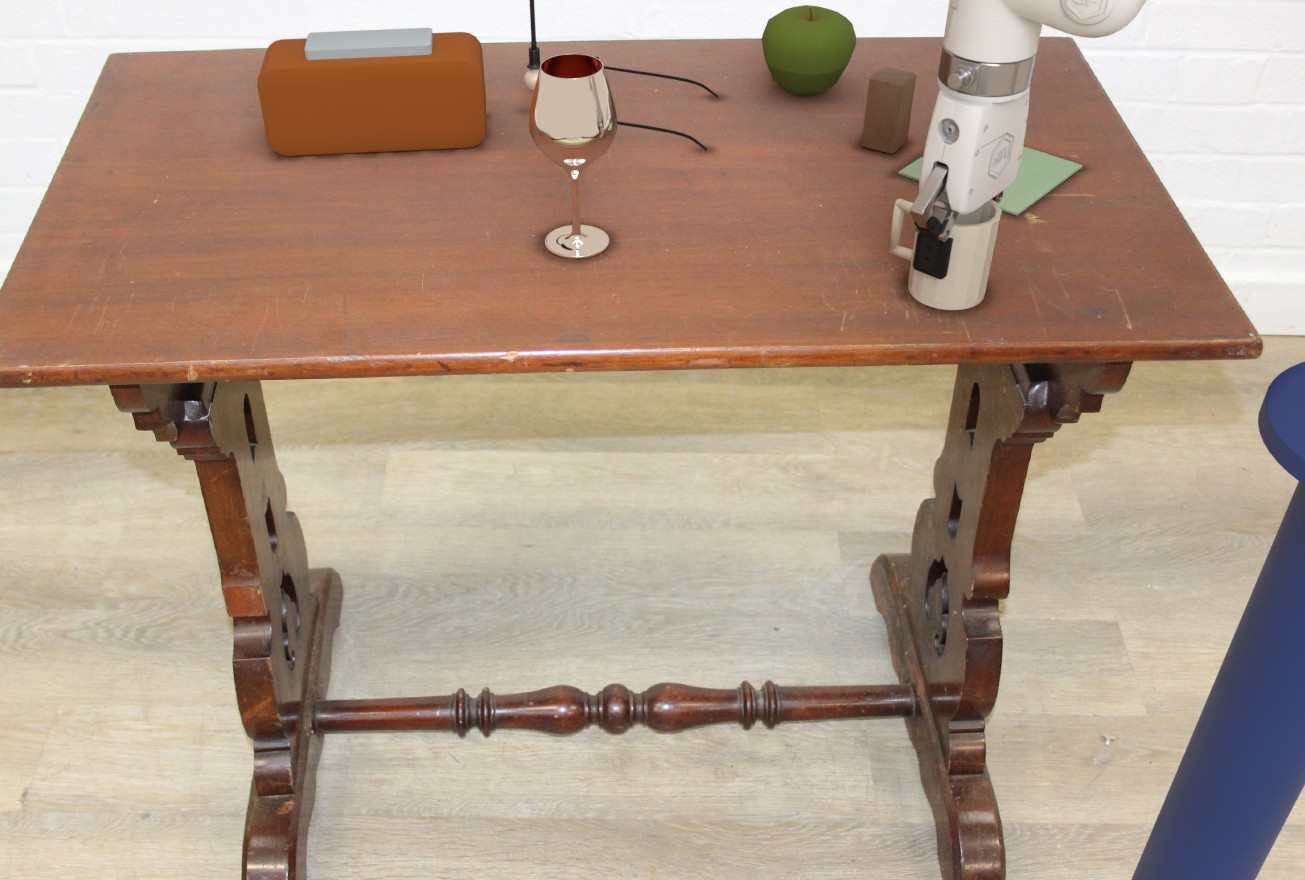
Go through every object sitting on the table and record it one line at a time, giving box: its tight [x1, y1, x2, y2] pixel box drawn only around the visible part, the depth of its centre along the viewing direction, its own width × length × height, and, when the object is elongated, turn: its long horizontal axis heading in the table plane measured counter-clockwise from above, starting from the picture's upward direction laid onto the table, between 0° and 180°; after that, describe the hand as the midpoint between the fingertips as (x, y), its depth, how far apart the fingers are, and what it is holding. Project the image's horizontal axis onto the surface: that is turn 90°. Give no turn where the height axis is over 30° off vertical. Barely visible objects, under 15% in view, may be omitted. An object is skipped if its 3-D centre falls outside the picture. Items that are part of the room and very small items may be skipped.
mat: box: [898, 146, 1084, 217], centre depth 142 cm, size 14×14×1 cm
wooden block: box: [861, 66, 917, 155], centre depth 144 cm, size 4×4×8 cm
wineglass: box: [528, 53, 618, 260], centre depth 126 cm, size 8×8×18 cm
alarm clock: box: [257, 27, 487, 157], centre depth 147 cm, size 24×8×11 cm, turn 94°
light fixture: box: [523, 0, 542, 92], centre depth 148 cm, size 7×7×25 cm
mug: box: [887, 193, 1003, 311], centre depth 122 cm, size 10×7×8 cm
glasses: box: [594, 56, 719, 151], centre depth 152 cm, size 14×15×5 cm
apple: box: [761, 4, 857, 97], centre depth 155 cm, size 11×10×10 cm
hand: (952, 255), depth 121 cm, fingers closed on mug, 7 cm apart
